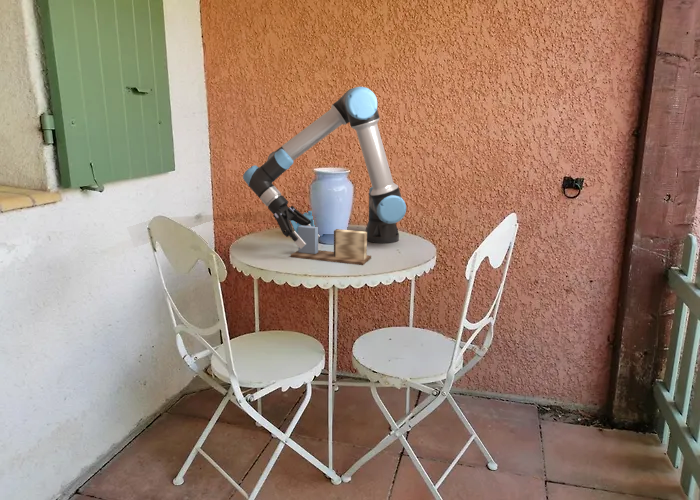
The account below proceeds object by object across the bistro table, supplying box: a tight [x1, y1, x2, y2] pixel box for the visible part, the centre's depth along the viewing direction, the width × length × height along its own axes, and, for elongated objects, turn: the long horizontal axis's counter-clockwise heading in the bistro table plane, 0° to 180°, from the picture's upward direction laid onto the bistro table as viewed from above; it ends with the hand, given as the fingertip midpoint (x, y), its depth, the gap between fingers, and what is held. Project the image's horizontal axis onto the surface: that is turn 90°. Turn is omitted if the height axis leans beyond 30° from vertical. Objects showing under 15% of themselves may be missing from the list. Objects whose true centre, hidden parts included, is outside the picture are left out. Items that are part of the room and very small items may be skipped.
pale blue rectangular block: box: [297, 225, 319, 254], centre depth 209 cm, size 7×3×10 cm, turn 70°
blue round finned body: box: [290, 210, 315, 234], centre depth 243 cm, size 15×15×11 cm
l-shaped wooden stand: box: [290, 228, 372, 266], centre depth 206 cm, size 29×10×11 cm, turn 70°
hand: (310, 242), depth 209 cm, fingers open, 13 cm apart
